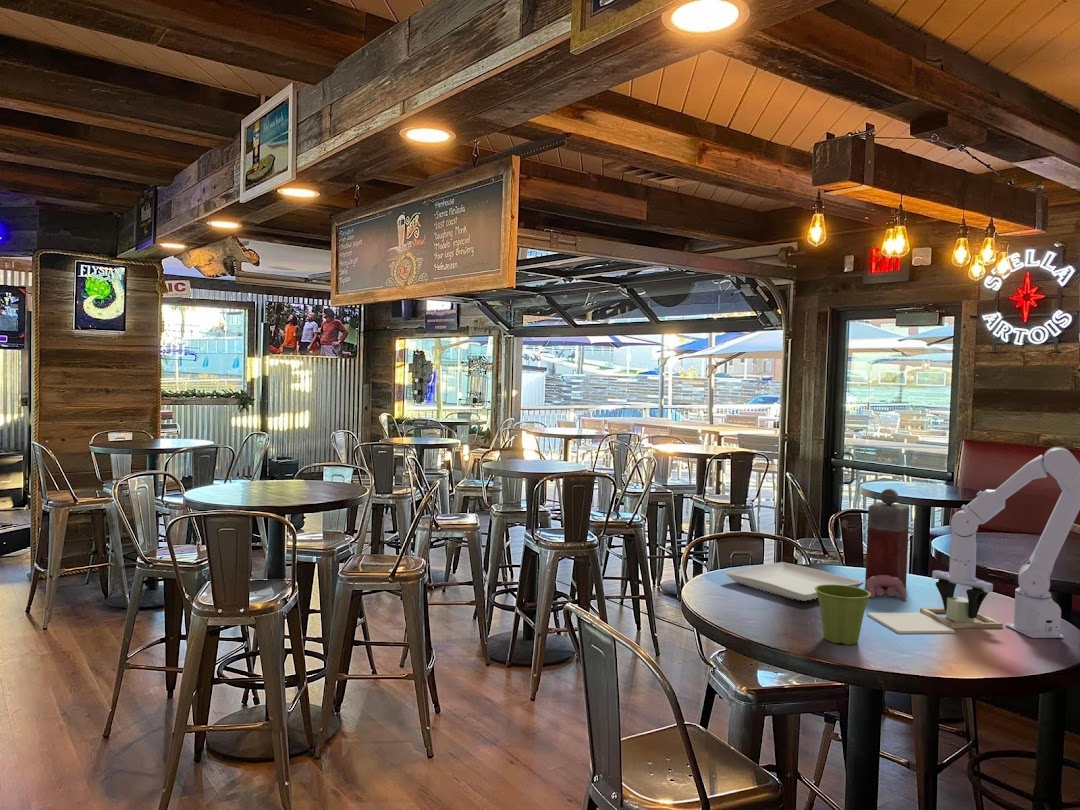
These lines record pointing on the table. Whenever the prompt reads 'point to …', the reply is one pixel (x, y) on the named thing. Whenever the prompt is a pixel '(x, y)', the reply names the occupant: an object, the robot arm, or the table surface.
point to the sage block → (958, 610)
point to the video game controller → (888, 581)
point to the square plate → (789, 579)
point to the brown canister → (887, 538)
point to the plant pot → (842, 612)
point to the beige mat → (910, 623)
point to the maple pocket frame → (990, 624)
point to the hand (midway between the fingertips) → (960, 614)
